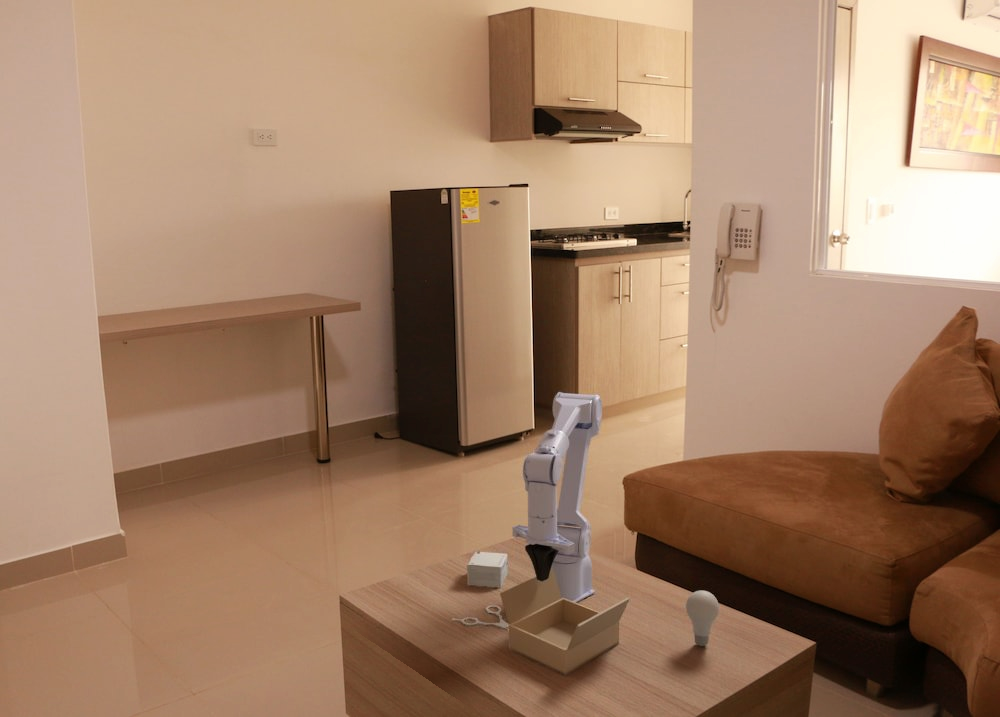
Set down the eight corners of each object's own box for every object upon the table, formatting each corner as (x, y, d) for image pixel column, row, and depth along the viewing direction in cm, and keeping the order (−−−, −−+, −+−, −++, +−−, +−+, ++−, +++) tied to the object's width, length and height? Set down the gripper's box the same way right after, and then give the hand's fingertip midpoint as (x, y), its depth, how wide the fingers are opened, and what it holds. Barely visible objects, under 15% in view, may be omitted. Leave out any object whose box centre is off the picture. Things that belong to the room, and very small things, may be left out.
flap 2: (628, 597, 169) (629, 598, 168) (617, 620, 171) (619, 621, 171) (577, 624, 158) (579, 626, 158) (566, 649, 161) (568, 650, 161)
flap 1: (561, 598, 181) (560, 598, 181) (552, 569, 182) (551, 569, 182) (510, 624, 170) (508, 624, 171) (501, 593, 171) (499, 593, 171)
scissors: (487, 601, 191) (559, 631, 177) (487, 605, 191) (559, 635, 177) (451, 619, 183) (523, 651, 169) (451, 622, 183) (523, 655, 169)
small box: (501, 589, 198) (500, 567, 197) (466, 586, 199) (466, 564, 198) (508, 574, 205) (508, 553, 204) (475, 571, 207) (474, 550, 206)
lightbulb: (678, 641, 173) (679, 588, 171) (704, 635, 175) (706, 582, 173) (697, 656, 167) (699, 601, 165) (724, 649, 170) (726, 595, 168)
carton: (563, 620, 182) (563, 597, 181) (618, 643, 173) (619, 619, 172) (508, 649, 171) (508, 625, 170) (565, 676, 161) (565, 650, 160)
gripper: (501, 510, 177) (502, 574, 180) (557, 528, 167) (557, 596, 170) (525, 501, 182) (526, 564, 185) (581, 518, 172) (581, 584, 175)
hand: (542, 579), depth 177 cm, fingers closed
